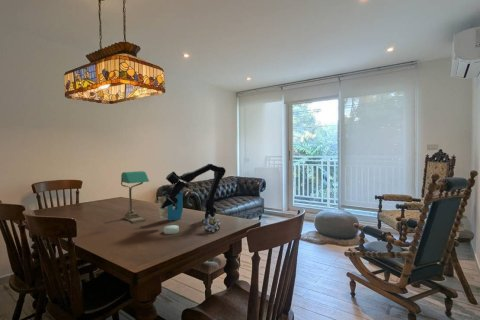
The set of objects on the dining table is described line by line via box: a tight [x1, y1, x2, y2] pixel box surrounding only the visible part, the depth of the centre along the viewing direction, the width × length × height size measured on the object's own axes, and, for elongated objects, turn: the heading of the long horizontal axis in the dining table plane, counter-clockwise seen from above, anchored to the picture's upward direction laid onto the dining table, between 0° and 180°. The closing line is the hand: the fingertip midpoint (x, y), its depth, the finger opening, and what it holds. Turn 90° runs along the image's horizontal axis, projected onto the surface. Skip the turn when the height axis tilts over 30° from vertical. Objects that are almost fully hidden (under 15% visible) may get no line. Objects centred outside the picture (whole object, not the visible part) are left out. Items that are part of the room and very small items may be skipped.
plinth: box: [163, 224, 180, 235], centre depth 166 cm, size 9×9×3 cm
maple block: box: [157, 196, 168, 219], centre depth 174 cm, size 5×5×13 cm
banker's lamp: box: [120, 170, 150, 224], centre depth 196 cm, size 16×21×35 cm
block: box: [166, 190, 184, 222], centre depth 195 cm, size 12×5×20 cm, turn 124°
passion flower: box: [201, 215, 222, 233], centre depth 168 cm, size 11×11×12 cm
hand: (160, 207), depth 174 cm, fingers closed on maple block, 5 cm apart
